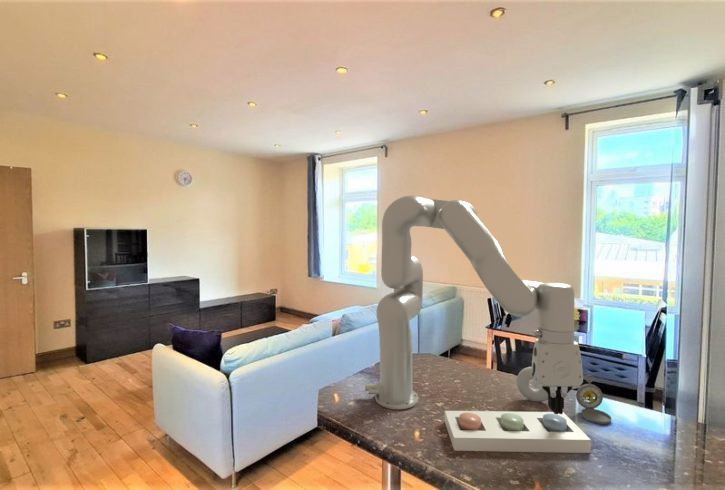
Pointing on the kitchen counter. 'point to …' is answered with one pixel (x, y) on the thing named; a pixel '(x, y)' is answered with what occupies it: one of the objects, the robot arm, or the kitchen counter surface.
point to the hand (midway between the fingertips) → (555, 411)
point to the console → (515, 434)
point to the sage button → (511, 422)
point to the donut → (525, 389)
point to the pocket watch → (592, 403)
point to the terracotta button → (470, 421)
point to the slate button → (554, 423)
